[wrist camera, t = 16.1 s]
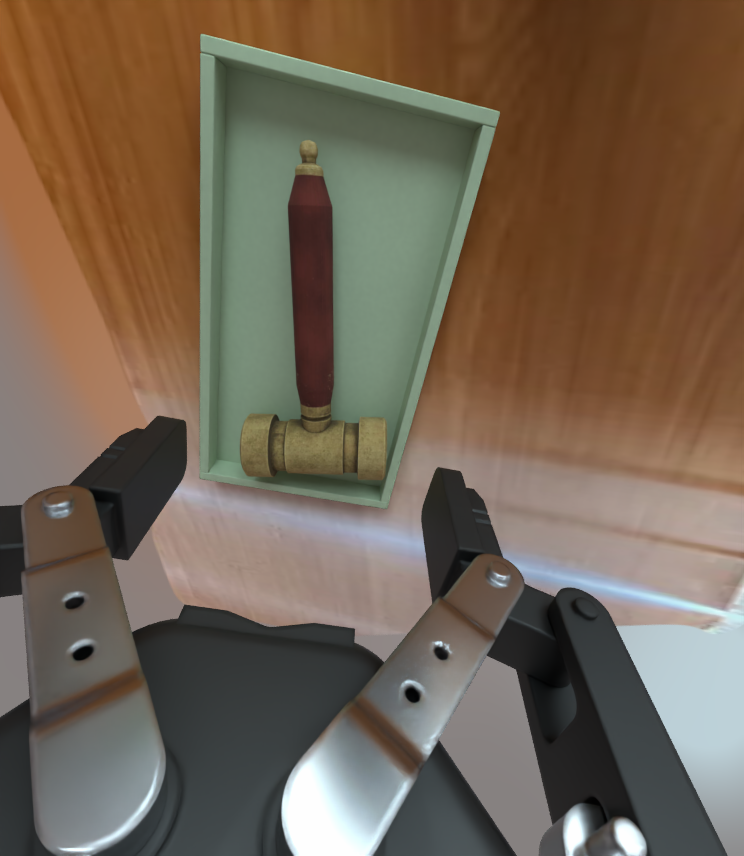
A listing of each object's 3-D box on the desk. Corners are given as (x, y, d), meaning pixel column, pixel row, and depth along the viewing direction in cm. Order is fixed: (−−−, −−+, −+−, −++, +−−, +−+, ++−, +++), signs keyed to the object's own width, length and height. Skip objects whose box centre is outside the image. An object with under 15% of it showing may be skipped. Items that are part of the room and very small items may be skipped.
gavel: (198, 126, 20) (404, 134, 20) (228, 144, 24) (399, 150, 24) (242, 488, 29) (384, 492, 29) (258, 456, 33) (383, 460, 33)
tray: (217, 49, 22) (199, 32, 20) (488, 119, 23) (500, 111, 21) (210, 460, 35) (199, 479, 32) (386, 489, 36) (386, 509, 34)
